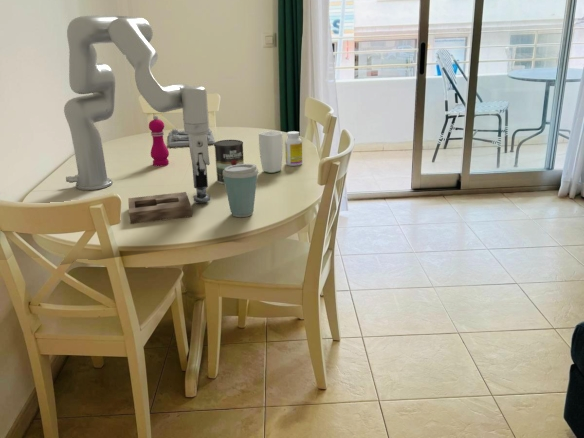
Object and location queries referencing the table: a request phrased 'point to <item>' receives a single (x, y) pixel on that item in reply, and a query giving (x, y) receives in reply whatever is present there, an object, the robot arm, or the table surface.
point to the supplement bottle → (293, 149)
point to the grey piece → (184, 139)
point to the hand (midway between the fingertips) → (200, 184)
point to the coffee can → (227, 156)
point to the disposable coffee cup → (241, 188)
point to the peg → (200, 188)
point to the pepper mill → (158, 143)
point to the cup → (271, 151)
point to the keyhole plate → (159, 207)
